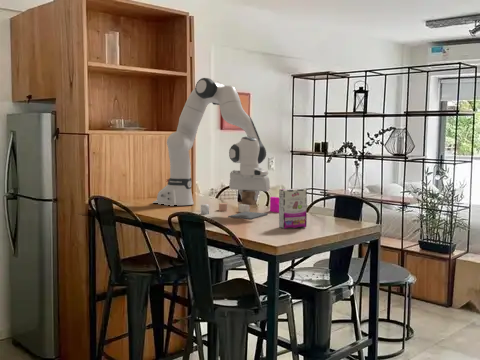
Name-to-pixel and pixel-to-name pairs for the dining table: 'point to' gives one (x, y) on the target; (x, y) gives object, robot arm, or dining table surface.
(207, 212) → the grey cylinder
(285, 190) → the candy bar box
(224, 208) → the terracotta cube
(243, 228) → the dining table surface
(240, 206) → the cream cube
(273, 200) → the toy block
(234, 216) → the mat
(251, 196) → the walnut block
